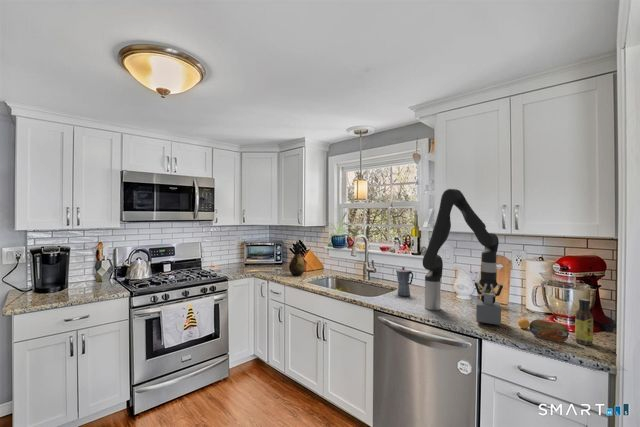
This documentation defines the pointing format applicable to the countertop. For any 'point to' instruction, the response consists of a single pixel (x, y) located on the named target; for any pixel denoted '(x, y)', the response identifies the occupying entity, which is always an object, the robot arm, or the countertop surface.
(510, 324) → the countertop surface
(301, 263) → the pineapple
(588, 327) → the sauce bottle
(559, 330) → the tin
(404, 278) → the moka pot
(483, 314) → the stacked grey blocks
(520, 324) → the ball
